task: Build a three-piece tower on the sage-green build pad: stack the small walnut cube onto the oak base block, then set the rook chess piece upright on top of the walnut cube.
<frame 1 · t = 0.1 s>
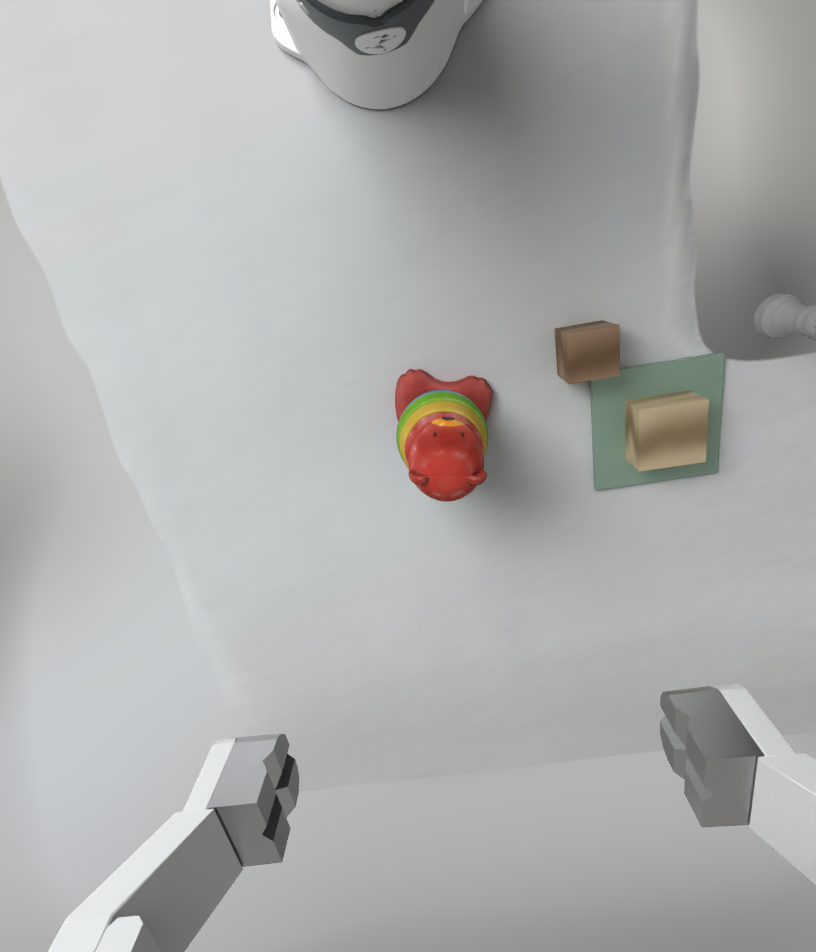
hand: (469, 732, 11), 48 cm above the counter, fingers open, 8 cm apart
walnut cube: (579, 348, 54), on the counter
build pad: (654, 424, 57), on the counter
stacking bear: (440, 415, 58), on the counter
rook chess piece: (771, 315, 52), on the counter
oak base block: (656, 425, 56), point 1 cm above the counter, touching build pad
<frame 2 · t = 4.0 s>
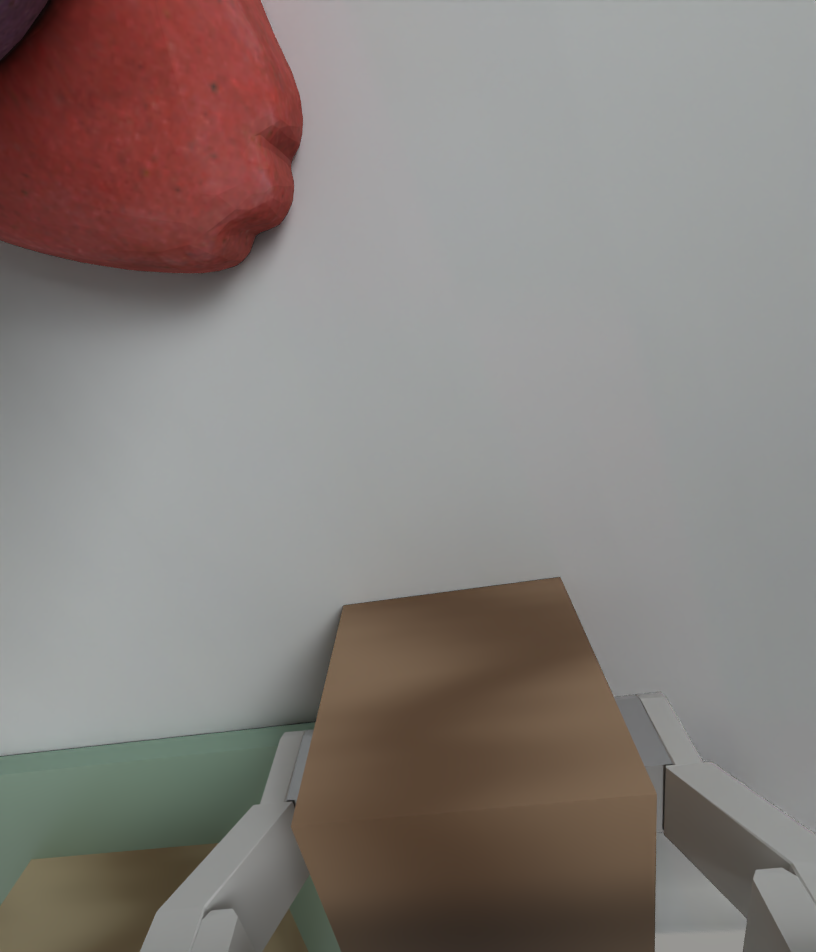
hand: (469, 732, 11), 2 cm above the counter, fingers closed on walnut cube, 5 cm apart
walnut cube: (464, 674, 12), on the counter, touching gripper
build pad: (191, 897, 16), on the counter
oak base block: (183, 920, 16), point 1 cm above the counter, touching build pad
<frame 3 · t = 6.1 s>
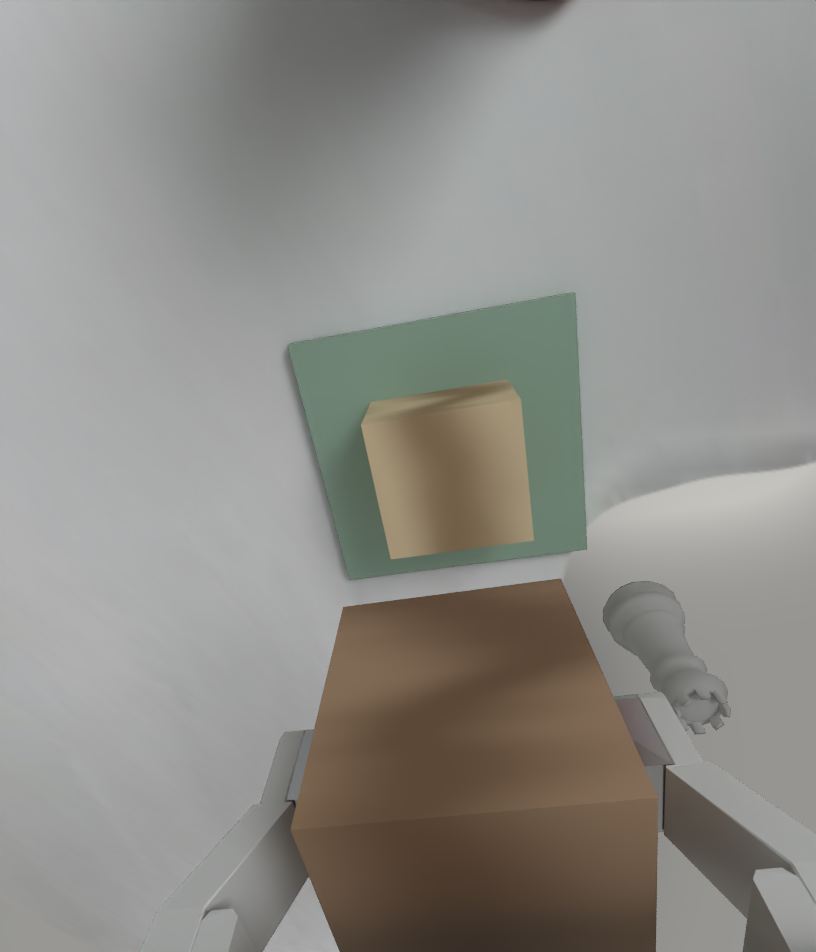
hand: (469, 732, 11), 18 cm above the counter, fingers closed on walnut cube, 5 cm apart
walnut cube: (464, 676, 12), point 16 cm above the counter, touching gripper
build pad: (447, 450, 27), on the counter
rook chess piece: (635, 604, 31), on the counter
oak base block: (448, 454, 27), point 1 cm above the counter, touching build pad
when the fingers open (7 cm above the counter, at t = 8.4 s): walnut cube drops 1 cm, resting on oak base block.
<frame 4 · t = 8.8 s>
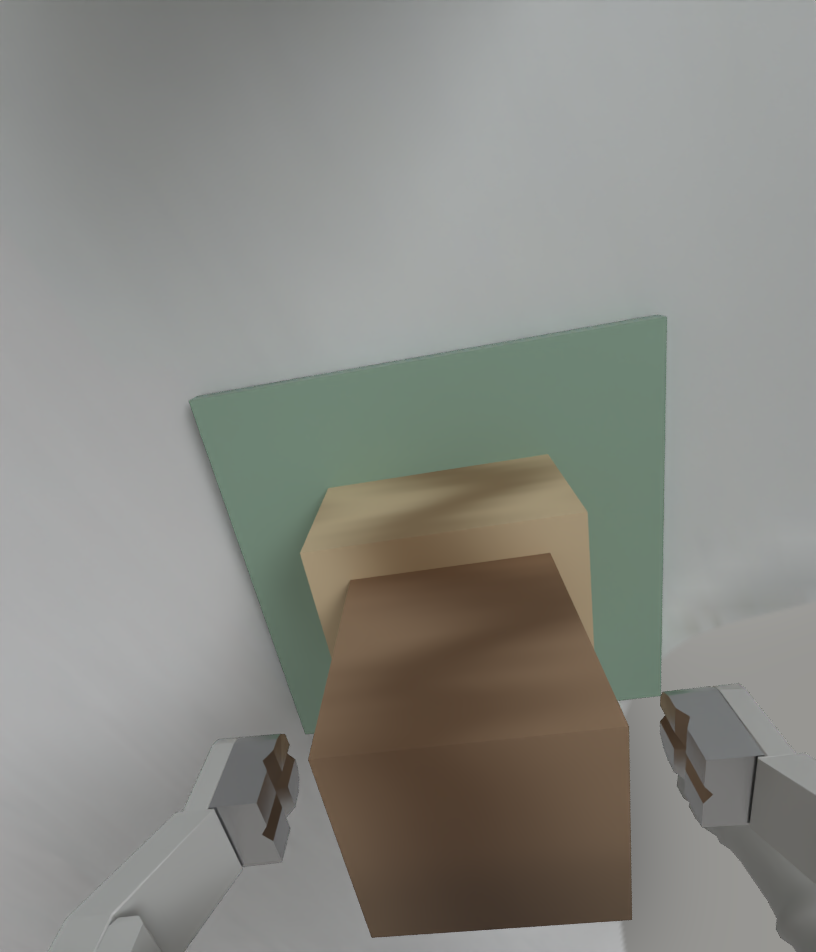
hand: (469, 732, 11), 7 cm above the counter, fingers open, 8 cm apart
walnut cube: (462, 645, 13), point 5 cm above the counter, touching oak base block
build pad: (450, 556, 18), on the counter
rook chess piece: (722, 760, 21), on the counter
oak base block: (451, 565, 17), point 1 cm above the counter, touching build pad, walnut cube
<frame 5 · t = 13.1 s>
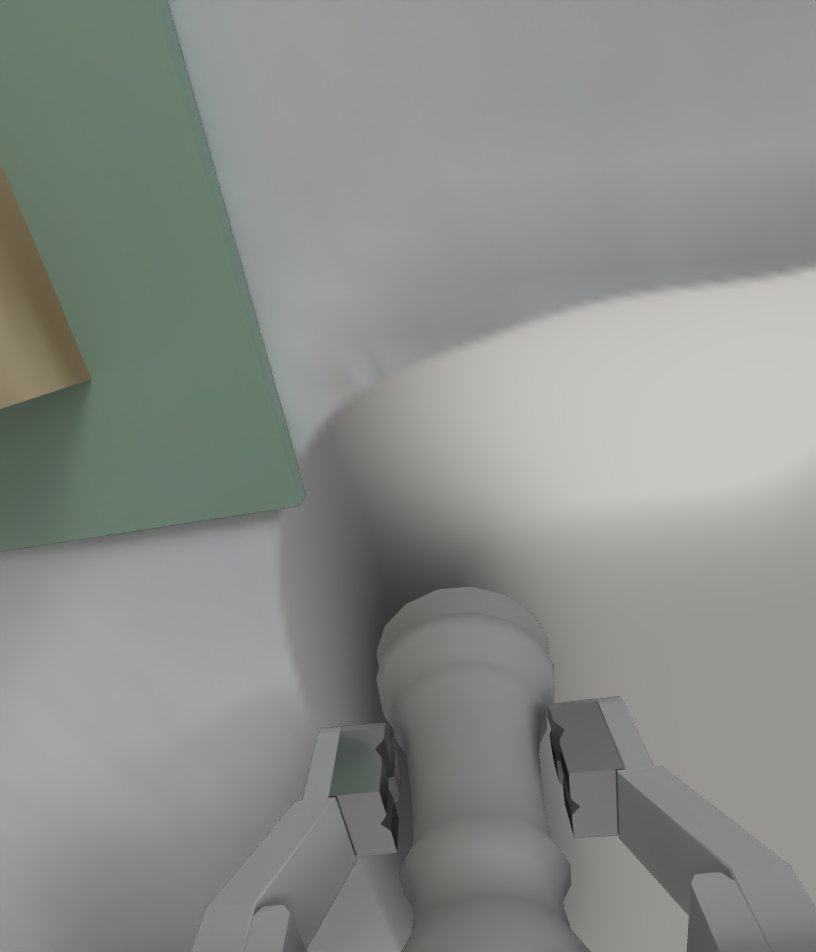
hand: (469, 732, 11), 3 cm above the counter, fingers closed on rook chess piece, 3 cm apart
rook chess piece: (460, 640, 14), on the counter, touching gripper
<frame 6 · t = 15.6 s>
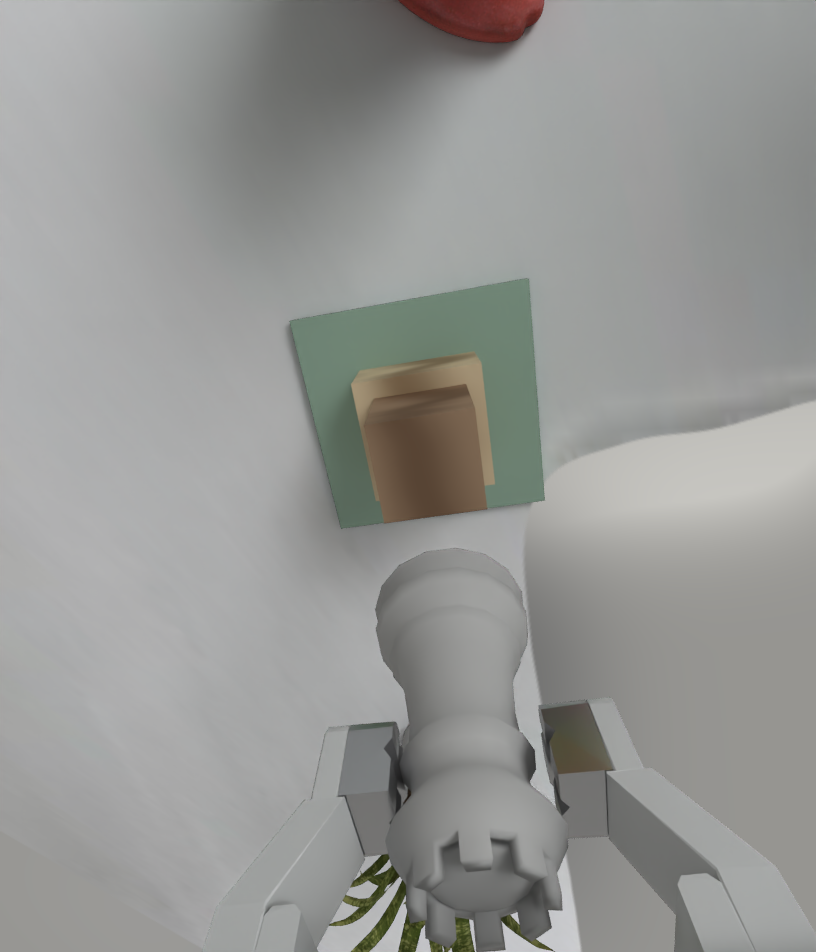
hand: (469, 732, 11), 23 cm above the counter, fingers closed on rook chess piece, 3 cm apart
walnut cube: (426, 435, 28), point 5 cm above the counter, touching oak base block
build pad: (425, 413, 32), on the counter
house plant: (418, 733, 43), on the counter
rook chess piece: (448, 598, 16), point 18 cm above the counter, touching gripper
oak base block: (425, 416, 31), point 1 cm above the counter, touching build pad, walnut cube
when the fingers open (14 cm above the counter, at t = 17.8 s): rook chess piece stays where it is, resting on walnut cube.
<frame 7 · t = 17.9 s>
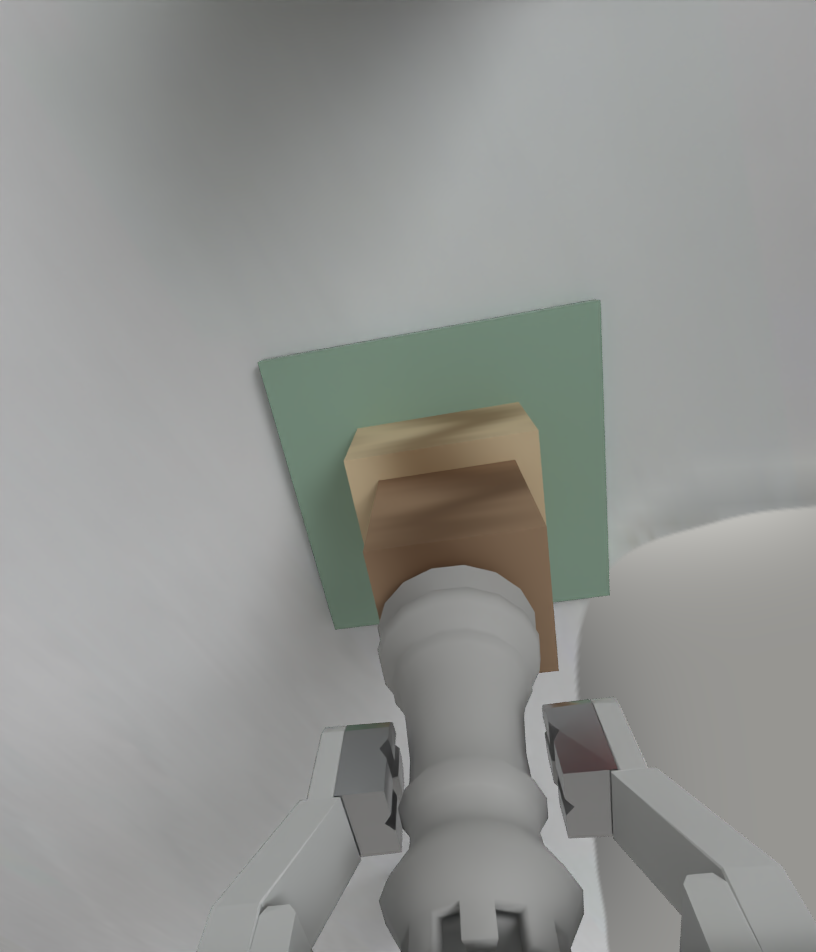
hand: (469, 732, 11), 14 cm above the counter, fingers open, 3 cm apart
walnut cube: (455, 530, 19), point 5 cm above the counter, touching oak base block, rook chess piece
build pad: (448, 483, 23), on the counter
rook chess piece: (455, 616, 15), point 9 cm above the counter, touching walnut cube
oak base block: (448, 488, 23), point 1 cm above the counter, touching build pad, walnut cube
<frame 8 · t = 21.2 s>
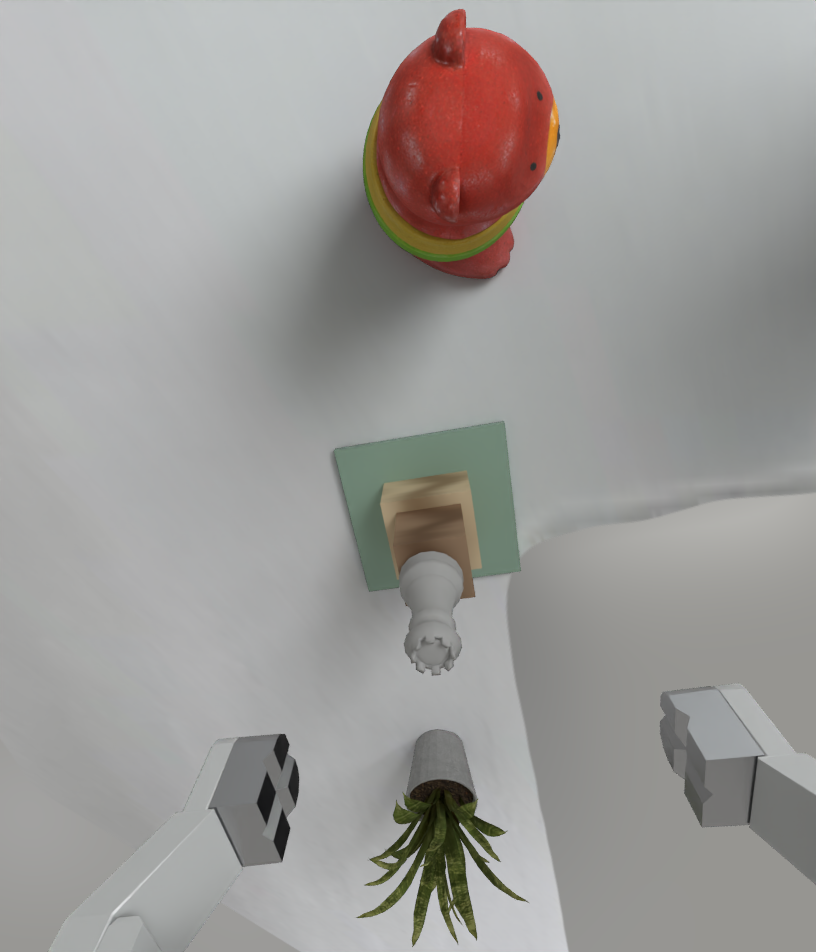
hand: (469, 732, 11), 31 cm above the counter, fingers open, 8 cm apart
walnut cube: (433, 536, 39), point 5 cm above the counter, touching oak base block, rook chess piece
build pad: (431, 510, 43), on the counter
house plant: (427, 742, 55), on the counter
stacking bear: (447, 189, 34), on the counter
rook chess piece: (431, 573, 35), point 9 cm above the counter, touching walnut cube
oak base block: (431, 513, 43), point 1 cm above the counter, touching build pad, walnut cube
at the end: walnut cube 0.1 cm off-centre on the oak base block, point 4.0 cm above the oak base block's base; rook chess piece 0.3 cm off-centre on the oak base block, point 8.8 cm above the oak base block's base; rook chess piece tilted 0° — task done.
